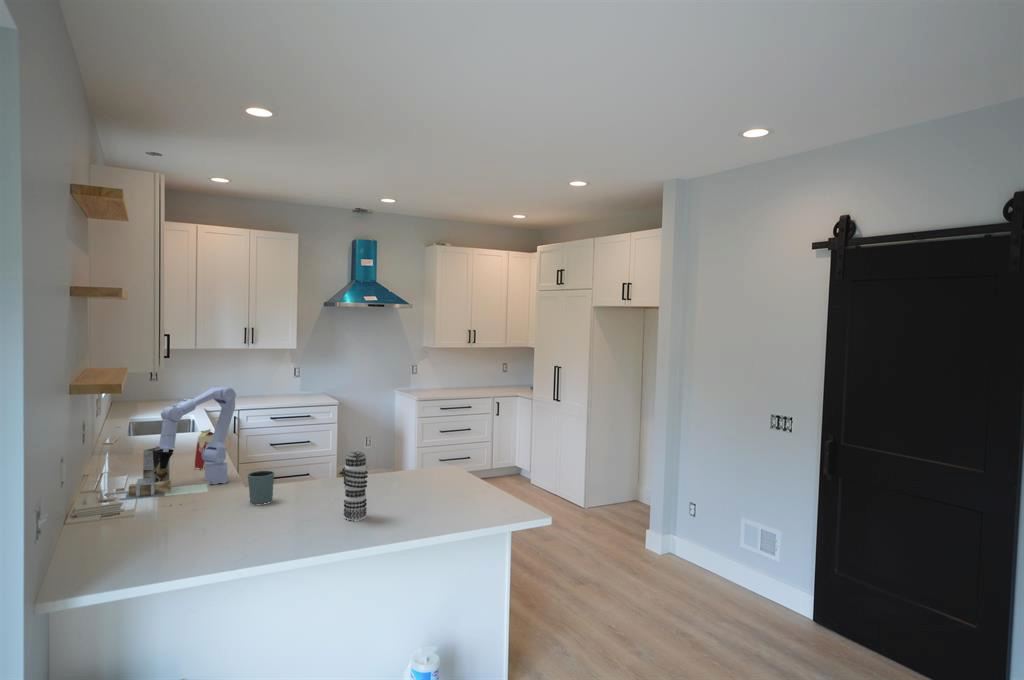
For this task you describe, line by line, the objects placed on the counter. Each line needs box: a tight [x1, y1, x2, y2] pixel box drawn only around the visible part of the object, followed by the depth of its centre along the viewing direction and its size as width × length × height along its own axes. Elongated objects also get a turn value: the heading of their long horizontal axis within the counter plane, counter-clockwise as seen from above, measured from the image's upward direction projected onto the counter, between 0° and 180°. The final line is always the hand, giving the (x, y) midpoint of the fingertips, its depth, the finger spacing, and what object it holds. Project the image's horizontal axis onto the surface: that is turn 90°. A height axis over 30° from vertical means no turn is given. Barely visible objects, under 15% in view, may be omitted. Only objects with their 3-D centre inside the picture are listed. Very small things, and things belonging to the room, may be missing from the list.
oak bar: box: [128, 480, 172, 496], centre depth 256 cm, size 15×4×4 cm, turn 118°
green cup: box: [247, 470, 275, 505], centre depth 251 cm, size 10×10×12 cm
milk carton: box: [193, 428, 214, 470], centre depth 307 cm, size 9×9×20 cm
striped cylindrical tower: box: [342, 451, 369, 522], centre depth 234 cm, size 9×9×25 cm
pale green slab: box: [103, 483, 209, 501], centre depth 258 cm, size 38×14×2 cm, turn 118°
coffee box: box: [142, 446, 171, 482], centre depth 276 cm, size 9×6×16 cm
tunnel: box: [135, 477, 155, 497], centre depth 256 cm, size 6×9×6 cm
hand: (163, 467), depth 259 cm, fingers open, 7 cm apart
